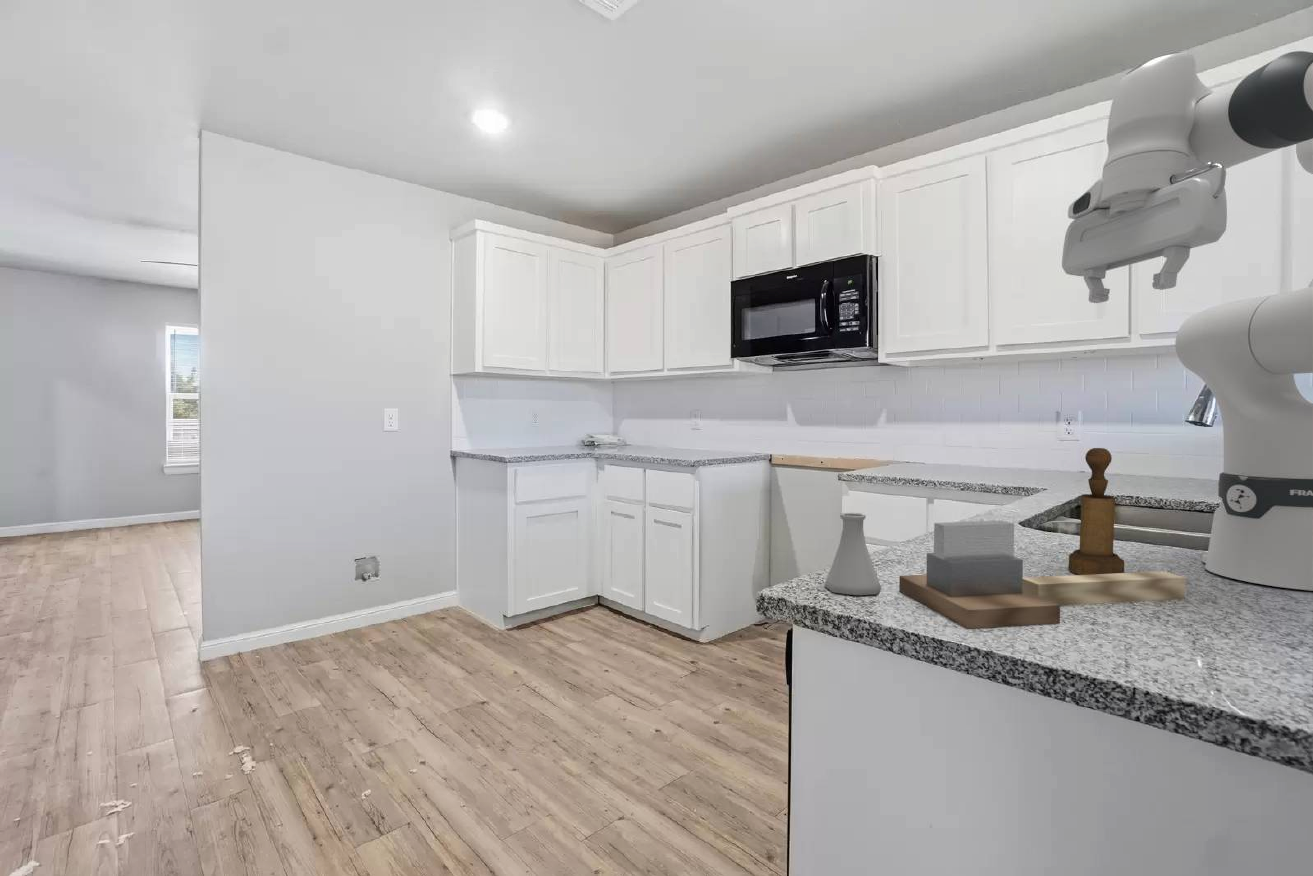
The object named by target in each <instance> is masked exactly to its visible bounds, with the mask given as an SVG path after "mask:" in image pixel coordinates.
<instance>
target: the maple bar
mask: <svg viewBox="0 0 1313 876" xmlns="http://www.w3.org/2000/svg"><path fill="white" fill-rule="evenodd" d="M1186 586H1187V577H1185V576H1181V575H1178V574H1175V573H1171V572H1168V571H1163V570H1162V571H1161V570H1160V571H1141V572H1124V573H1115V574H1093V575H1078V574H1076V575H1057V576H1056V575H1054V576H1035V577H1032V576H1031V577H1030V576H1029V577H1023V580H1022V590H1023V591H1026V592H1028V593H1031V594H1033V595H1036V596H1039V597H1041V598H1044V599H1046V600H1049V601H1051V602H1054V603H1056V604H1059V605H1060V606H1073V605H1094V604H1095V605H1096V604H1111V603H1114V604H1115V603H1129V602H1150V601H1167V600H1168V601H1169V600H1171V601H1172V600H1185V599H1186V592H1187V591H1186V589H1187V588H1186Z"/></svg>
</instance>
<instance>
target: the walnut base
mask: <svg viewBox="0 0 1313 876" xmlns="http://www.w3.org/2000/svg"><path fill="white" fill-rule="evenodd" d="M926 577H927V574H911V575H910V574H909V575H899V581H898V582H899V586H898V588H899V590H898V591H899V592H901V593H902V594H904V595H906V596H907V597H909V598H912V599H913V600H915V601H916V602H919V603H920V604H922V605H924V606H926V607H928V608H930V609H931V610H934V611H936V612H937V613H939V614H941V615H943V616H944V617H946V618H948V619H950V620H952V621H954V622H955V623H957V624H959V625H961V626H963V627H965V628H966V629H979V628H980V629H981V628H982V629H983V628H985V629H986V628H999V627H1014V626H1015V627H1016V626H1032V625H1034V626H1035V625H1047V624H1048V625H1050V624H1060V623H1061V605H1059V604H1056V603H1054V602H1051V601H1049V600H1046V599H1044V598H1041V597H1039V596H1036V595H1033V594H1031V593H1028V592H1026V591H1023V590H1022V594H1004V595H985V596H966V597H950V596H948V595H946V594H943V593H941V592H939V591H937V590H935V589H933V588H931V587H929V586H927V585H926Z"/></svg>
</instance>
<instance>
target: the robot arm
mask: <svg viewBox="0 0 1313 876" xmlns="http://www.w3.org/2000/svg"><path fill="white" fill-rule="evenodd" d="M1108 117H1109V118H1108V122H1107V133H1106V144H1107V148H1108V152H1107V157H1106V159H1105V162H1104V164H1103V167H1102V175H1101V178H1099V179H1097V181H1095V182H1094V183H1093V185H1091V187H1090V188H1089V189H1087V190H1086V191H1085V192H1084V193H1083V194H1082V195H1080V196H1079V197H1078V198H1076V199H1075V200H1074V201H1072V202H1071V203H1070V205H1069V206H1068V209H1067V217H1068V218H1069V219H1071V220H1073V221H1071V222H1070V224H1069V225H1068V226H1067V229H1066V232H1065V237H1064V241H1063V242H1064V243H1063V247H1062V248H1063V249H1062V257H1061V259H1062V260H1061V267H1062V269H1063V271H1064V273H1065V275H1070V276H1076V277H1083V280H1084V282H1085V284H1086V286H1087V289H1088V291H1089V293H1088V302H1090V303H1092V304H1100V303H1104V302H1105V303H1106V302H1108V301H1109V299H1110V296H1109V295H1110V290H1111V289H1110V288H1107V287H1106V288H1105V286H1104V284H1103V281H1102V280H1103V279H1105V278H1106V274H1107V271H1111V270H1114V269H1118V268H1122V267H1126V266H1130V265H1134V264H1137V263H1141V262H1146V261H1149V260H1153V259H1156V258H1160V257H1163V258H1165V262H1164V263H1163V265H1162V267H1161V269H1160V271H1159V272H1157V273H1154V274H1153V277H1152V280H1153V282H1152V288H1153V289H1154V290H1161V291H1163V290H1168V289H1173V288H1175V287H1176V285H1177V279H1178V274H1179V273H1180V272H1181V270H1182V268H1183V267H1184V265H1185V264H1186V263H1187V261H1188V259H1190V253H1191V249H1194V248H1198V247H1202V246H1205V245H1209V244H1214V243H1216V242H1218V241H1219V240H1220V239H1221V238H1222V236H1223V235H1224V233H1225V232H1226V231H1227V223H1228V222H1227V221H1228V216H1227V215H1228V211H1227V210H1228V208H1227V194H1226V188H1225V185H1226V179H1227V169H1229V168H1231V167H1233V166H1236V165H1239V164H1242V163H1245V162H1248V161H1250V160H1253V159H1256V158H1258V157H1261V156H1264V155H1266V154H1270V153H1272V152H1274V151H1277V150H1280V149H1282V148H1287V147H1291V146H1294V145H1295V154H1296V157H1297V160H1298V163H1299V164H1300V166H1301V168H1303V170H1305V171H1306V172H1307V173H1310V174H1311V175H1313V52H1312V51H1305V50H1304V51H1303V50H1299V51H1298V50H1297V51H1291V52H1287V53H1284V54H1282V55H1280V56H1278V57H1277V58H1274V59H1273V60H1271V61H1270V62H1268V63H1266V64H1264V65H1263V66H1261V67H1259V68H1257V69H1255V70H1254V71H1253V72H1251V73H1249V74H1248V75H1246V76H1244V77H1242V78H1239V79H1238V80H1235V81H1234V82H1232V83H1230V84H1227V85H1226V86H1224V87H1221V88H1220V89H1217V90H1215V91H1213V90H1211V89H1210V88H1208V86H1206V85H1205V84H1204V82H1203V81H1201V79H1200V78H1199V76H1198V74H1197V66H1196V59H1195V57H1194V54H1192V53H1189V52H1172V53H1166V54H1163V55H1161V56H1157V57H1154V58H1151V59H1149V60H1147V61H1144V62H1143V63H1141V64H1140V65H1138V66H1136V67H1135V68H1133V69H1131V70H1130V71H1129V72H1127V73H1125V75H1124V76H1122V78H1121V80H1120V81H1119V83H1118V84H1117V87H1116V89H1115V92H1114V95H1113V97H1112V102H1111V105H1110V111H1109V116H1108ZM1174 341H1175V343H1174V345H1175V346H1174V347H1175V351H1176V355H1177V357H1178V360H1179V361H1180V363H1181V364H1182V365H1183V367H1185V368H1186V369H1188V370H1189V371H1191V373H1192V372H1193V373H1194V374H1195V375H1196V376H1198V377H1199V379H1201V380H1202V381H1203V382H1204V383H1205V385H1206V386H1207V387H1208V389H1209V391H1210V392H1211V394H1212V395H1213V397H1214V399H1215V402H1216V403H1217V406H1218V408H1219V412H1220V416H1221V420H1222V431H1223V432H1222V433H1223V472H1220V473H1219V475H1218V476H1219V477H1218V481H1217V487H1218V488H1217V489H1218V490H1217V491H1218V493H1217V494H1218V497H1219V498H1221V502H1220V504H1219V506H1218V507H1217V508H1216V509H1215V511H1214V515H1213V518H1212V525H1211V532H1210V539H1209V543H1208V550H1207V553H1204V554H1203V553H1202V557H1201V562H1202V563H1204V564H1205V566H1204V569H1205V570H1207V571H1208V572H1210V573H1212V574H1216V575H1219V576H1222V577H1225V578H1229V579H1235V580H1238V581H1244V582H1248V583H1251V584H1252V583H1253V584H1259V585H1265V586H1272V587H1278V588H1285V589H1293V590H1303V591H1311V592H1312V591H1313V403H1312V402H1310V401H1308V400H1307V399H1306V397H1304V396H1303V395H1302V393H1301V392H1300V390H1299V389H1298V387H1297V384H1296V381H1295V377H1294V376H1295V375H1296V374H1313V279H1311V281H1310V282H1309V284H1308V287H1305V288H1301V289H1297V290H1292V291H1287V292H1286V291H1285V292H1282V293H1277V294H1271V295H1265V296H1258V297H1253V298H1247V299H1241V300H1235V301H1229V302H1224V303H1221V304H1219V305H1216V306H1213V307H1210V308H1207V309H1204V310H1202V311H1199V312H1197V313H1195V314H1194V313H1193V314H1192V315H1190V316H1188V318H1186V319H1185V320H1184V321H1183V322H1182V324H1181V325H1180V327H1179V329H1178V330H1177V333H1176V336H1175V340H1174Z"/></svg>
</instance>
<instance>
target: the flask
mask: <svg viewBox="0 0 1313 876" xmlns="http://www.w3.org/2000/svg"><path fill="white" fill-rule="evenodd" d="M866 517H867V516H866V514H864V513H862V512H842V513H840V515H839V518H840V519H842V524H841V525H842V528H841V534H840V541H839V544H838V548H837V550H836V554H835V556H834V559H833V562H832V565H831V567H830V570H829V572H828V575H827V577H826V580H825V583H824V587H825V588H827V589H828V590H829V591H831V592H833V593H837V594H844V595H845V594H846V595H851V596H864V595H865V596H866V595H870V596H871V595H878V594H879V592H880V591H881V590H882V587H881V586H882V585H881V584H880V580H879V577H878V575H877V572H876V570H875V567H874V564H873V561H872V558H871V555H870V552H869V550H868V546H867V543H866V538H865V532H864V520H865V519H866Z"/></svg>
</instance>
